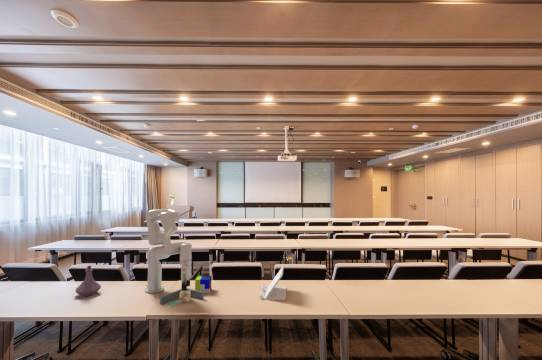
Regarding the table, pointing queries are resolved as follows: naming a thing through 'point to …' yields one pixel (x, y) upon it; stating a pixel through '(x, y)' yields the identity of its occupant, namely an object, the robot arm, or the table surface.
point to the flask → (88, 284)
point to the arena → (176, 295)
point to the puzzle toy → (203, 284)
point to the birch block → (185, 296)
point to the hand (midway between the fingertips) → (185, 288)
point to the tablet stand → (274, 289)
